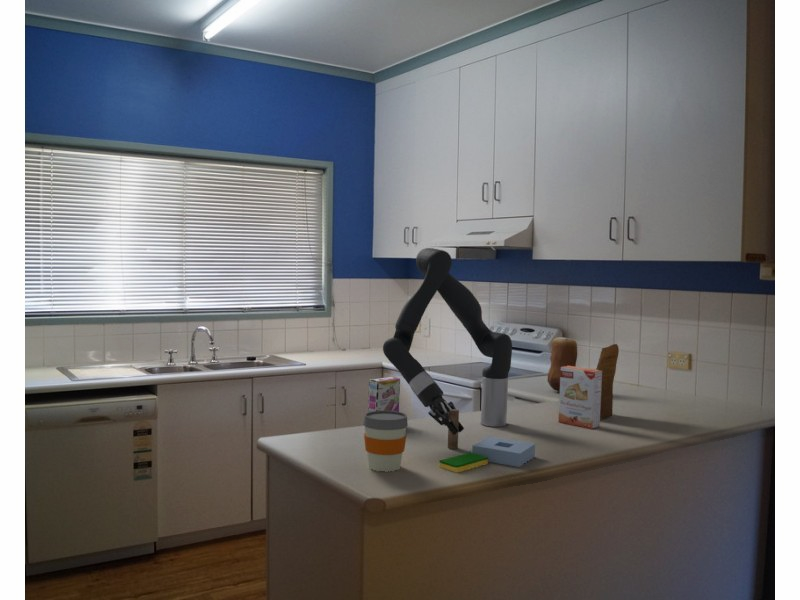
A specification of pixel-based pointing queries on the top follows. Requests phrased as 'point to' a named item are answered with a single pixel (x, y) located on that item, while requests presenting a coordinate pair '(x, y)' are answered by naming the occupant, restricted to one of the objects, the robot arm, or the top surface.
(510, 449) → the hole block
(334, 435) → the top surface
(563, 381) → the cracker box
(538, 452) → the top surface
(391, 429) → the reusable coffee cup
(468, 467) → the dish sponge
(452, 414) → the walnut peg
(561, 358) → the butternut squash
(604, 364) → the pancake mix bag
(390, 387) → the candy bar box
